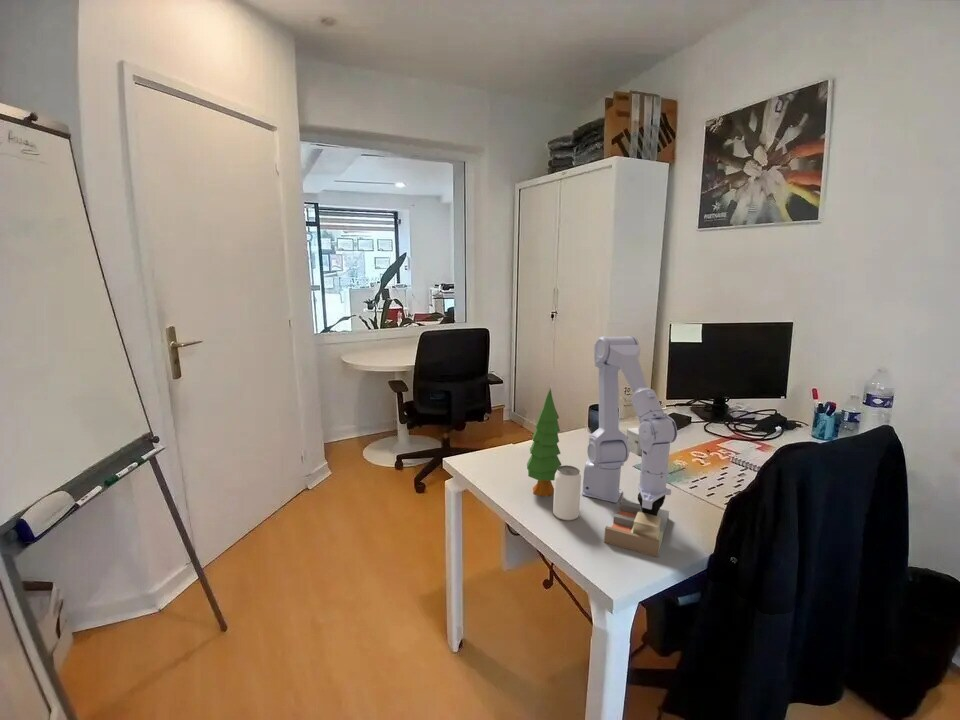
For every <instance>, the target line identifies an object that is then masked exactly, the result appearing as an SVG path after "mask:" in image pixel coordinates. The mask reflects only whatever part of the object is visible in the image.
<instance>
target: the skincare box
mask: <svg viewBox="0 0 960 720" xmlns="http://www.w3.org/2000/svg"><path fill="white" fill-rule="evenodd" d="M639 427H640V426H638V427H631V428H627V429H626V436H627V444H628V447H629V452H631V453H633V454H634V455H642V449H641V446H640V437H639V431H638V428H639Z"/></svg>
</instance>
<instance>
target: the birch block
mask: <svg viewBox="0 0 960 720" xmlns="http://www.w3.org/2000/svg"><path fill="white" fill-rule="evenodd" d="M660 521H661V517H658V516H654V515H650V514H646V513H642V512H638V513H637V515H636V518H635V520H634V527H633V533H634V534H638V535H642V536H646V537H649V538H653V539H658V536H659V532H660Z"/></svg>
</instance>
